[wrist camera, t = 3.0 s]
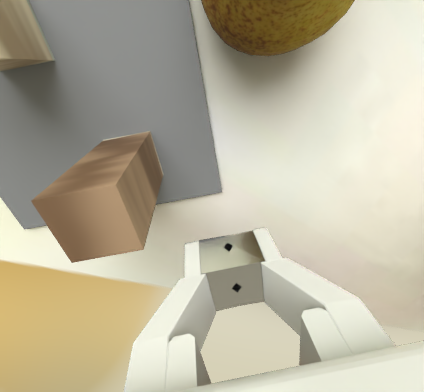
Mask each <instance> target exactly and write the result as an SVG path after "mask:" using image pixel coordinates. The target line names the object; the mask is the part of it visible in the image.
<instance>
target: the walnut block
mask: <svg viewBox="0 0 424 392" xmlns="http://www.w3.org/2000/svg"><path fill="white" fill-rule="evenodd" d="M162 178H163V171H162V168H161V164H160V161H159V158H158V155H157V151H156V148H155V145H154V142H153V138H152V135H151V132H150V131H147V132H142V133H137V134H132V135H127V136H122V137H117V138H112V139H106V140H103V141H102V142H101V143H99V144H98V145H97V146H96V147H95V148H93V149H92V150H91V151H90V152H89V153H87V154H86V155H85V156H84V157H83V158H81V159H80V160H79V161H78V162H77V163H75V164H74V165H73V166H72V167H71V168H70V169H68V170H67V171H66V172H65V173H64V174H62V175H61V176H60V177H59V178H58V179H56V180H55V181H54V182H53V183H52V184H50V185H49V186H48V187H47V188H46V189H44V190H43V191H42V192H41V193H40V194H38V195H37V196H36V197H35V198H34V199H33V200H31V202H32V204H33V205H34V207H35V208H36V210H37V211H38V213H39V214H40V216H41V217H42V219H43V220H44V222H45V223H46V225H47V226H48V228H49V229H50V231H51V232H52V234H53V235H54V237H55V238H56V240H57V241H58V243H59V244H60V246H61V247H62V249H63V250H64V252H65V253H66V255H67V256H68V258H69V259H70V261H71V262H72V263H73V262H78V261H84V260H89V259H95V258H100V257H105V256H111V255H116V254H122V253H127V252H132V251H138V250H143V249H144V246H145V242H146V238H147V234H148V231H149V227H150V223H151V219H152V216H153V212H154V208H155V204H156V200H157V197H158V193H159V189H160V185H161V182H162Z"/></svg>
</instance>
